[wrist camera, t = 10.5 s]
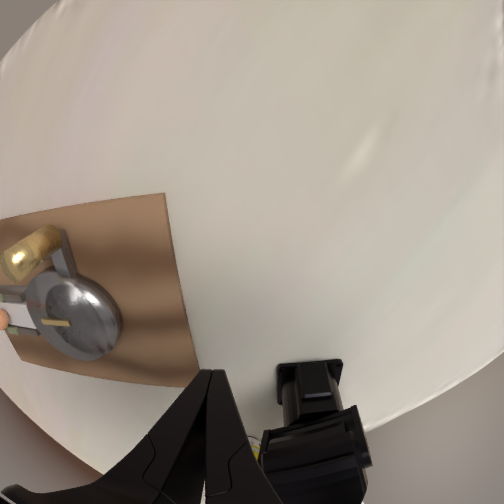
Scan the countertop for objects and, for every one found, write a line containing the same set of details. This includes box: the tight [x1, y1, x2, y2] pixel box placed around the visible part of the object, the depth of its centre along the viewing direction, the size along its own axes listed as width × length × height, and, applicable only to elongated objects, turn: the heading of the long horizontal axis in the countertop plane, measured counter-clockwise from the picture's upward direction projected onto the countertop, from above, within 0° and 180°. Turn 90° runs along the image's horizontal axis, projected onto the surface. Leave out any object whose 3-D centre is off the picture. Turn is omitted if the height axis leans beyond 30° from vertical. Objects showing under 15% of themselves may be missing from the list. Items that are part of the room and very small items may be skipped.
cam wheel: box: [0, 224, 123, 361], centre depth 20 cm, size 12×12×7 cm
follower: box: [0, 299, 37, 330], centre depth 22 cm, size 3×8×4 cm, turn 93°
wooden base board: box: [0, 193, 200, 388], centre depth 23 cm, size 20×28×3 cm
